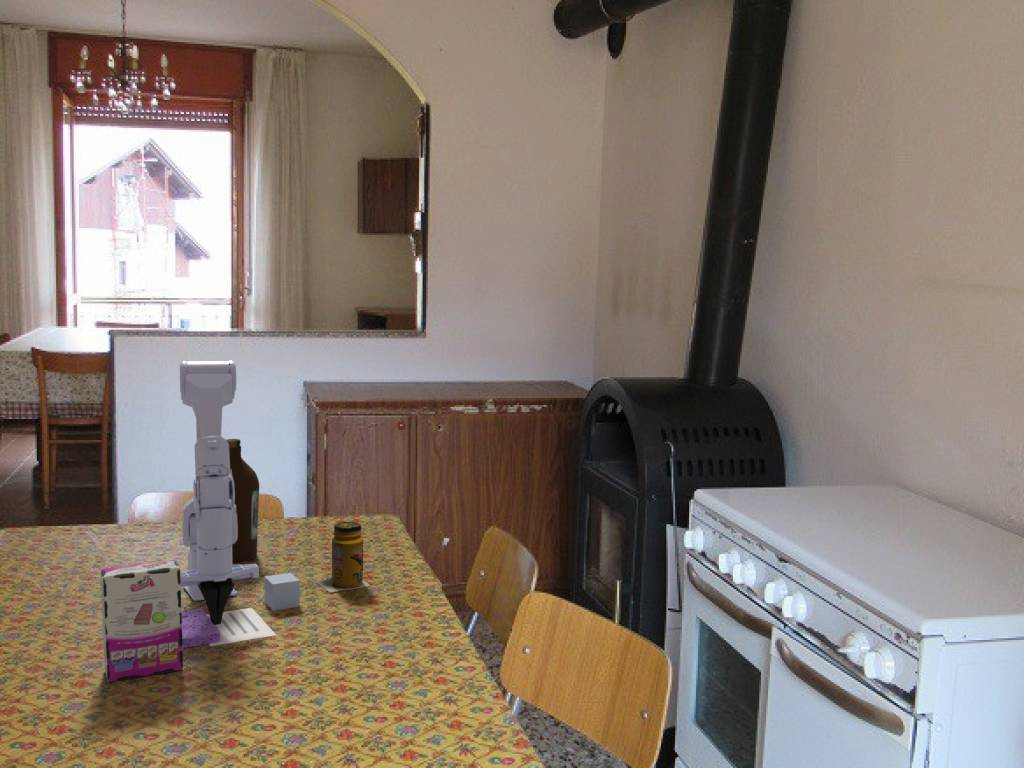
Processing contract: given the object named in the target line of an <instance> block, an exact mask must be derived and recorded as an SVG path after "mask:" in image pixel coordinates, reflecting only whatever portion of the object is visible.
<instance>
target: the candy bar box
mask: <svg viewBox="0 0 1024 768" xmlns="http://www.w3.org/2000/svg"><path fill="white" fill-rule="evenodd" d="M180 573H181V568H180V565H178V563H177V562H176V560H175V559H172V560H163V561H153V562H145V563H139V564H131V565H123V566H115V567H107V568H100V588H101V589H100V591H101V609H102V610H101V612H102V613H101V614H102V636H103V638H102V640H103V657H104V659H103V661H104V672H105V676H106V680H107V682H108V683H110V682H111V683H112V682H118V681H124V680H131V679H135V678H136V679H137V678H140V677H141V678H142V677H148V676H149V677H150V676H154V675H159V674H166V673H170V672H171V673H172V672H179V671H182V670H183V669H184V648H183V641H182V615H181V613H182V612H183V611H182V587H181V583H180V581H181V579H180Z"/></svg>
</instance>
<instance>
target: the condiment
mask: <svg viewBox="0 0 1024 768" xmlns="http://www.w3.org/2000/svg"><path fill="white" fill-rule="evenodd" d="M333 530H334V532H333V535H334V536H333V537H332V539H331V578H329V579H323V580H321V579H320V580H319V579H318V580H315V583H316V584H317V585H319V586H320V587H321V588H323V589H324V590H326V591H327V592H329V593H331V594H332V593H336V592H341V591H347V590H348V591H349V590H355V589H361V588H368V587H370V586H371V584H369V583H368V582H366V581H364V538H363V536H362V525H361V523H359V522H357V521H340V522H337V523H336V524H334V526H333Z"/></svg>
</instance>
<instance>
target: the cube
mask: <svg viewBox="0 0 1024 768" xmlns="http://www.w3.org/2000/svg"><path fill="white" fill-rule="evenodd" d="M263 580H264V603H265V604H266V605H267V607H269V609H271V611H273V612H276V611H280V610H286V609H293V608H299V607H301V602H300V600H301V596H300V595H301V594H300V593H301V591H300V589H301V587H300V585H301V584H300V583H301V581H300V579H299V578H297V576H295V575H294V574H293V573H291V572H288V573H281V574H280V573H279V574H273V575H265V576H264V579H263Z"/></svg>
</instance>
